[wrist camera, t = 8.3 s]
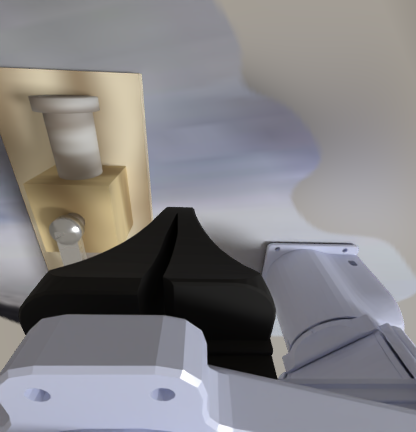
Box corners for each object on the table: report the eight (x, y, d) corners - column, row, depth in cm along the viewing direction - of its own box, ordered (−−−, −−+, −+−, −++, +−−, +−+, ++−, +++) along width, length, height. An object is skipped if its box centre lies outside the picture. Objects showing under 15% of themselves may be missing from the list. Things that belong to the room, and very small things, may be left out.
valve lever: (54, 211, 17) (41, 222, 16) (84, 212, 17) (73, 223, 16) (86, 325, 23) (78, 341, 21) (108, 325, 23) (102, 341, 21)
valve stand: (141, 73, 18) (116, 71, 13) (157, 273, 27) (146, 319, 22) (-15, 67, 18) (-107, 61, 12) (54, 271, 27) (18, 318, 22)
